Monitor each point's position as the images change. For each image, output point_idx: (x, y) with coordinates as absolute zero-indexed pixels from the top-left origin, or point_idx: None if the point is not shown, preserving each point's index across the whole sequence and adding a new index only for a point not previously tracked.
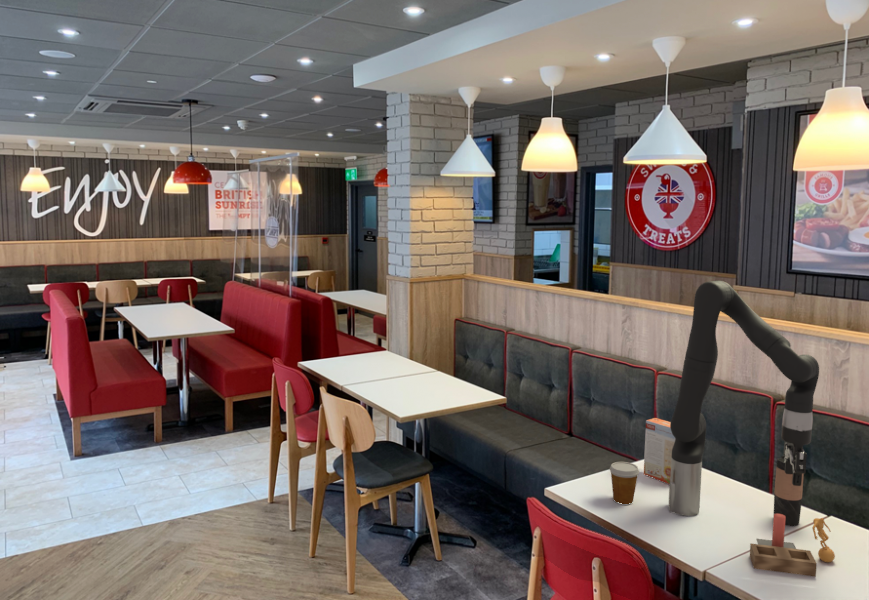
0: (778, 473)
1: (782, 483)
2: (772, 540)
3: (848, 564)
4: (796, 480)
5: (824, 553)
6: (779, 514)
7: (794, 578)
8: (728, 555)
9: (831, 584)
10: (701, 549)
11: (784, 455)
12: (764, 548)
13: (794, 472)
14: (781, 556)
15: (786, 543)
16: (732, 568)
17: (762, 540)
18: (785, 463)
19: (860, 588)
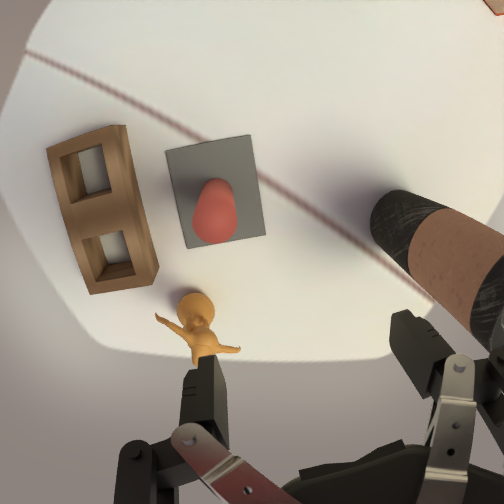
0: (486, 246)
1: (450, 249)
2: (211, 182)
3: None
4: (185, 396)
5: (179, 311)
6: (228, 221)
7: None
8: (110, 74)
9: (93, 303)
10: (118, 11)
11: (489, 361)
12: (108, 166)
13: (176, 431)
14: (74, 215)
15: (253, 217)
16: (50, 99)
17: (244, 152)
18: (434, 346)
19: (113, 347)
